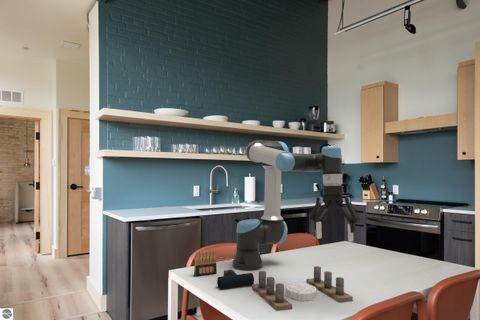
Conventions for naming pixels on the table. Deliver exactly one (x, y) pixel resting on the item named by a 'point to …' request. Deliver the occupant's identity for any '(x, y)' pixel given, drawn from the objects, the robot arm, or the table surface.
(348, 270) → the table surface
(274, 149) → the robot arm
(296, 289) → the mooncake
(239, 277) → the pipe connector
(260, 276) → the rails
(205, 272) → the ammunition clip
